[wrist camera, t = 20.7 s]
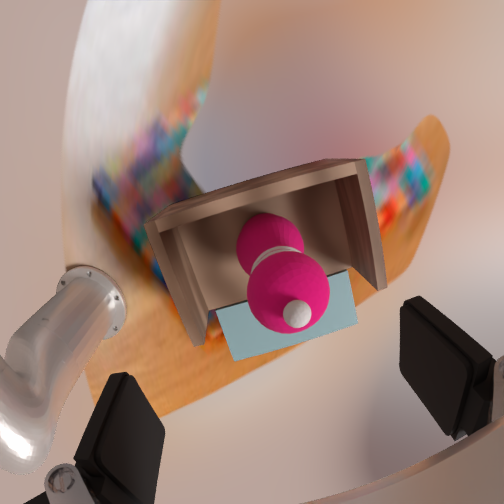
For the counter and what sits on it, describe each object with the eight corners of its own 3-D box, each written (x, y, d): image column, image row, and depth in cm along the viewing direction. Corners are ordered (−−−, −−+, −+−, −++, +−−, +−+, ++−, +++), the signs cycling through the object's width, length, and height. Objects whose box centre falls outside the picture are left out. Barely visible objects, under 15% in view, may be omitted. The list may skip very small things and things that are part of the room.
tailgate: (216, 305, 41) (234, 354, 43) (215, 310, 40) (234, 361, 41) (343, 267, 41) (353, 318, 42) (347, 270, 39) (357, 323, 41)
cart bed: (203, 296, 44) (194, 346, 32) (169, 205, 40) (143, 224, 28) (347, 253, 44) (387, 287, 31) (326, 158, 40) (365, 159, 27)
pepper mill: (305, 247, 38) (371, 330, 19) (255, 277, 39) (277, 384, 19) (276, 197, 36) (325, 239, 17) (224, 229, 37) (215, 305, 17)
